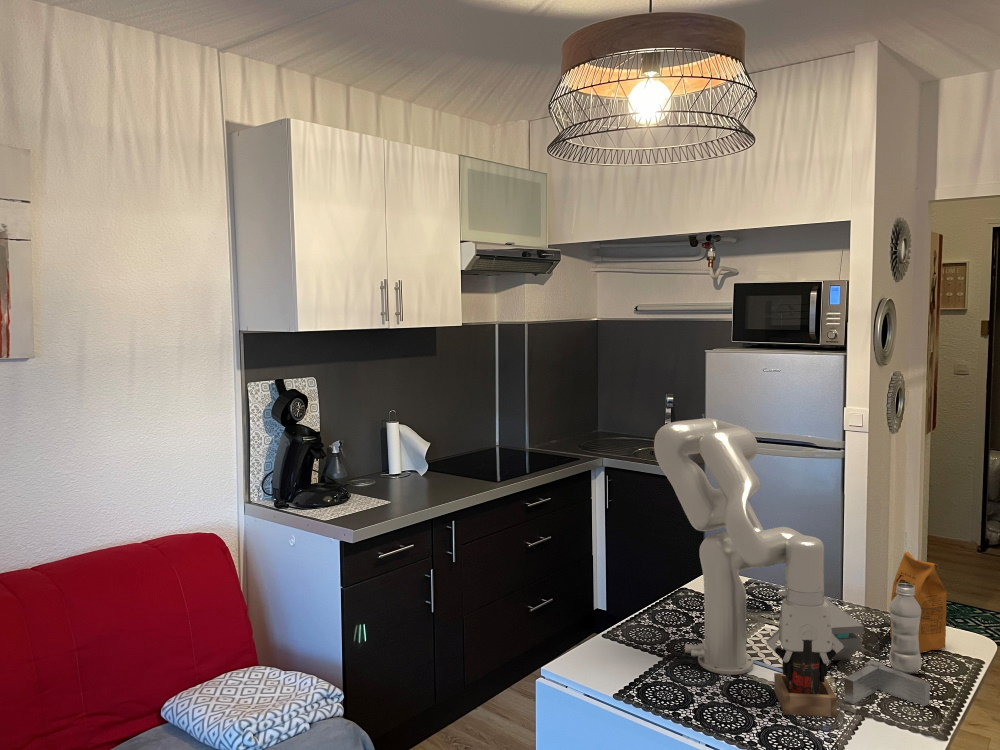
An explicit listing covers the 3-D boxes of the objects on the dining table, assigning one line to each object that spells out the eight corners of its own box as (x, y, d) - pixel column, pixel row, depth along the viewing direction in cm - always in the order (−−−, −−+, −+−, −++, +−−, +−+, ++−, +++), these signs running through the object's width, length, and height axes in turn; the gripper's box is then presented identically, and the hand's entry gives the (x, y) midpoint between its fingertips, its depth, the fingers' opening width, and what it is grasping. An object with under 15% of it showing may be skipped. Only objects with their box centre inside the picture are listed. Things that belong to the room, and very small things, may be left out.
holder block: (783, 714, 164) (783, 695, 164) (774, 690, 174) (774, 673, 174) (836, 716, 162) (836, 697, 162) (824, 692, 173) (824, 675, 172)
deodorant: (784, 697, 171) (784, 630, 170) (811, 695, 172) (811, 628, 170) (797, 711, 165) (797, 641, 164) (824, 709, 166) (825, 639, 165)
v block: (846, 704, 168) (846, 681, 167) (831, 679, 179) (832, 658, 178) (932, 708, 165) (932, 684, 165) (912, 682, 176) (912, 661, 176)
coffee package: (919, 632, 203) (920, 548, 202) (952, 652, 191) (953, 563, 189) (883, 635, 202) (883, 550, 201) (913, 655, 190) (914, 565, 188)
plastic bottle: (925, 678, 178) (926, 591, 177) (893, 676, 180) (893, 590, 178) (916, 665, 185) (917, 581, 183) (885, 664, 186) (885, 580, 185)
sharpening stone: (863, 672, 182) (863, 626, 181) (830, 674, 182) (830, 627, 181) (812, 629, 207) (813, 589, 206) (783, 631, 207) (783, 590, 206)
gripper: (765, 600, 164) (765, 685, 166) (853, 603, 162) (852, 688, 163) (759, 588, 172) (759, 669, 173) (842, 590, 169) (842, 672, 170)
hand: (804, 677), depth 168 cm, fingers closed on deodorant, 5 cm apart
